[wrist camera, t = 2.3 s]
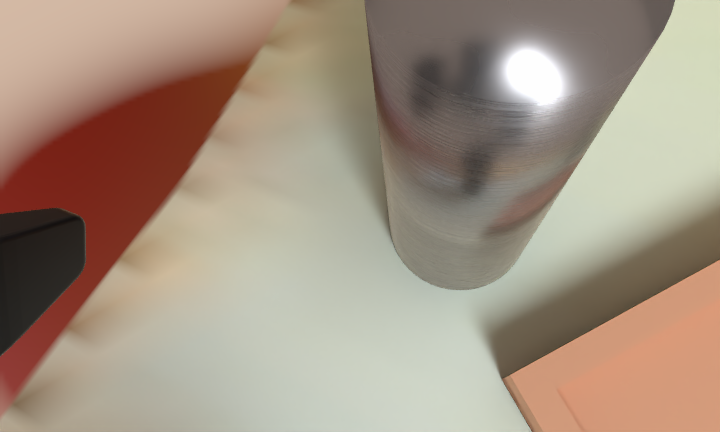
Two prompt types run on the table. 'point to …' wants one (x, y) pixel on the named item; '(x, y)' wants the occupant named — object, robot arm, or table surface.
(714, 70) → the table surface
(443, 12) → the canister
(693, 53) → the table surface
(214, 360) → the table surface
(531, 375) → the tray
